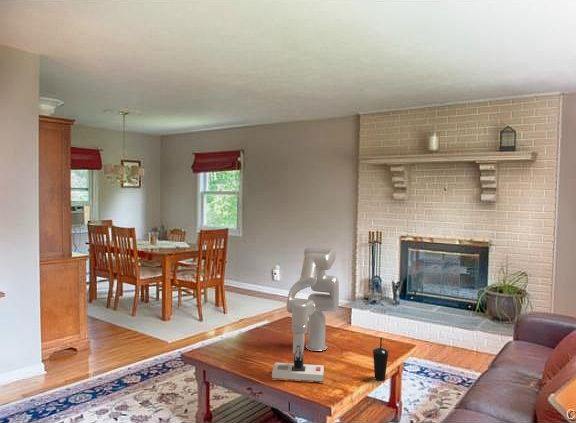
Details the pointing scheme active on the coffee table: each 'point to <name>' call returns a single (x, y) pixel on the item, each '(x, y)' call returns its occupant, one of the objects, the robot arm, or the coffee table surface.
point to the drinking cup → (380, 362)
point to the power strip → (298, 372)
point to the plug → (302, 363)
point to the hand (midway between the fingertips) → (298, 365)
